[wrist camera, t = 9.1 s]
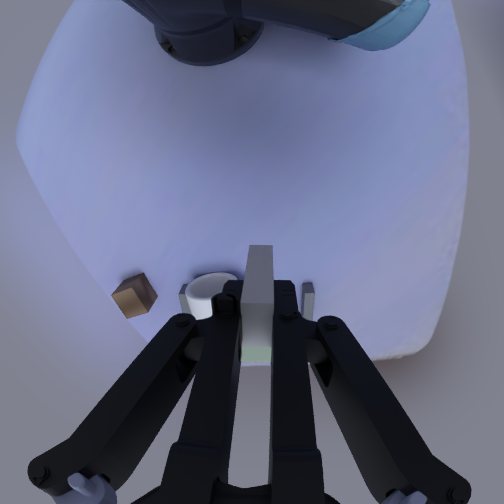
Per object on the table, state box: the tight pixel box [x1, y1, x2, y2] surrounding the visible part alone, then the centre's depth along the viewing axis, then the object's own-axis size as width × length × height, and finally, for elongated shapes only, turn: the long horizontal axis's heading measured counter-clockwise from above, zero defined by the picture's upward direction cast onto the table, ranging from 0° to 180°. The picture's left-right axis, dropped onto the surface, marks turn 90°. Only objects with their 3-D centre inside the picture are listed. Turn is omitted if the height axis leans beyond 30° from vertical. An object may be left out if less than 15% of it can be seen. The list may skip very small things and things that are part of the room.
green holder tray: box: [178, 283, 315, 362], centre depth 45 cm, size 16×21×4 cm
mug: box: [185, 272, 238, 320], centre depth 41 cm, size 12×10×8 cm
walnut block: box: [111, 273, 158, 319], centre depth 43 cm, size 5×5×5 cm
